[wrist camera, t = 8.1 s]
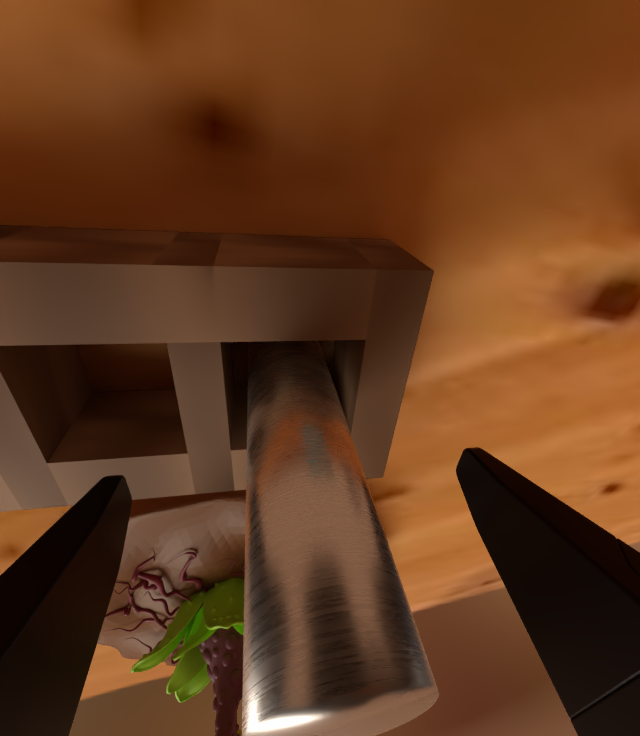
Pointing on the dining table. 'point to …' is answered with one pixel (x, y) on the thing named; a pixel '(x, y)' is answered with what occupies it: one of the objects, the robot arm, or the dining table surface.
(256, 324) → the hole block
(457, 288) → the dining table surface
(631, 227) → the dining table surface
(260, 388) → the peg
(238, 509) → the plant
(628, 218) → the dining table surface
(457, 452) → the dining table surface
